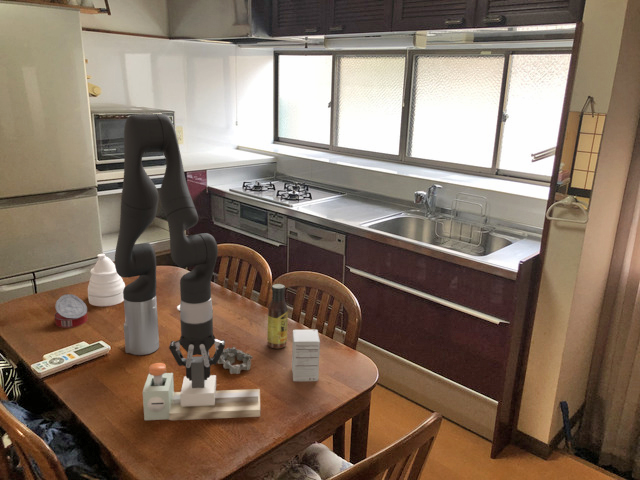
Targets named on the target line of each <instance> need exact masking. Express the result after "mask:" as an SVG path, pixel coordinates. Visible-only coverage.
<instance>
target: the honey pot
mask: <svg viewBox="0 0 640 480" xmlns="http://www.w3.org/2000/svg"><path fill="white" fill-rule="evenodd" d="M97 259H98V260H97V261H96V263H95V265H94V266H93V267H92V268H91V269H90V274H91V276H90V277H89V282H88V286H87V297H88V304H90V305H92V306H96V307H110V306H115V305H118V304H121V303H122V302H123V303H124V298H123V290H124V288H125V287H126V284H125V281H124V280H123V277H121V276H119V275H118V273H117V271H116V268H115V262H113V261H112V260H111V258H109V257H108V256H106V254H105V253H99V254H97Z"/></svg>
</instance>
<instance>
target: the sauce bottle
mask: <svg viewBox="0 0 640 480" xmlns="http://www.w3.org/2000/svg"><path fill="white" fill-rule="evenodd" d="M285 291H286V286H285V285H284V284H282V283H275V284H272V286H271V292H272V293H271V294H272V295H271V301H270V302H269V304H268V308H267V311H268V312H267V332H266V333H267V334H266V335H267V337H266V338H267V339H266V340H267V346H268V347H270V348H271V349H278V350H279V349H282V348H285V347H286V345H287V342H288V322H289V319H288V318H289V316H288V314H289V308H288V307H287V306H288V305H287V303H286V300H285Z"/></svg>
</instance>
